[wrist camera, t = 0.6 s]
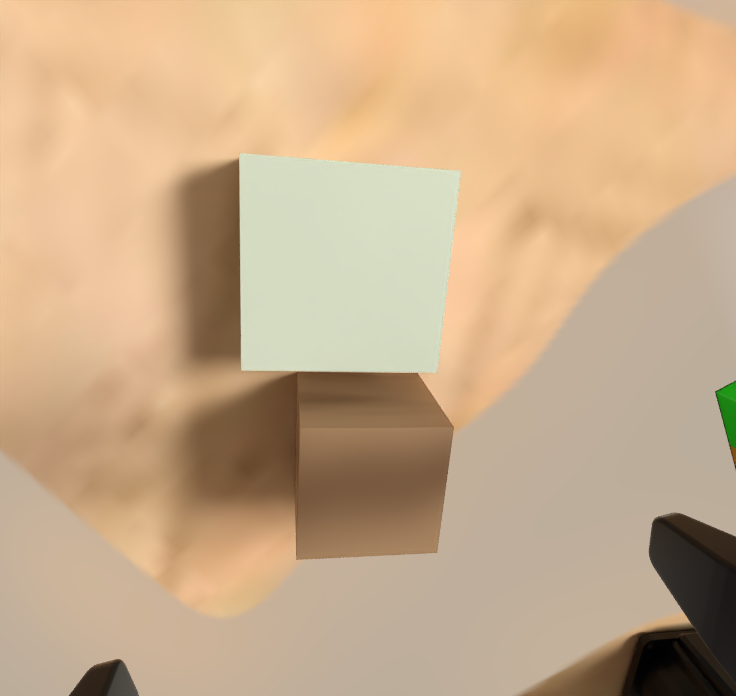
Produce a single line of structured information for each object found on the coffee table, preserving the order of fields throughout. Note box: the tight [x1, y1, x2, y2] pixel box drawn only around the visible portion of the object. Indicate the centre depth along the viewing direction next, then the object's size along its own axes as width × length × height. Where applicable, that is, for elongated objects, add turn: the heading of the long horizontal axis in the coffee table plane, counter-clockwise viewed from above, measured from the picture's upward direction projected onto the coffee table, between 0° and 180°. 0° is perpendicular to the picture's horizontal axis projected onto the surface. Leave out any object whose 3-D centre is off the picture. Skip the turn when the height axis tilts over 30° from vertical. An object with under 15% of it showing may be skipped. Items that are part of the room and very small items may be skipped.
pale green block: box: [239, 153, 461, 373], centre depth 18 cm, size 7×7×2 cm
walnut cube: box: [295, 372, 454, 560], centre depth 19 cm, size 5×5×5 cm
